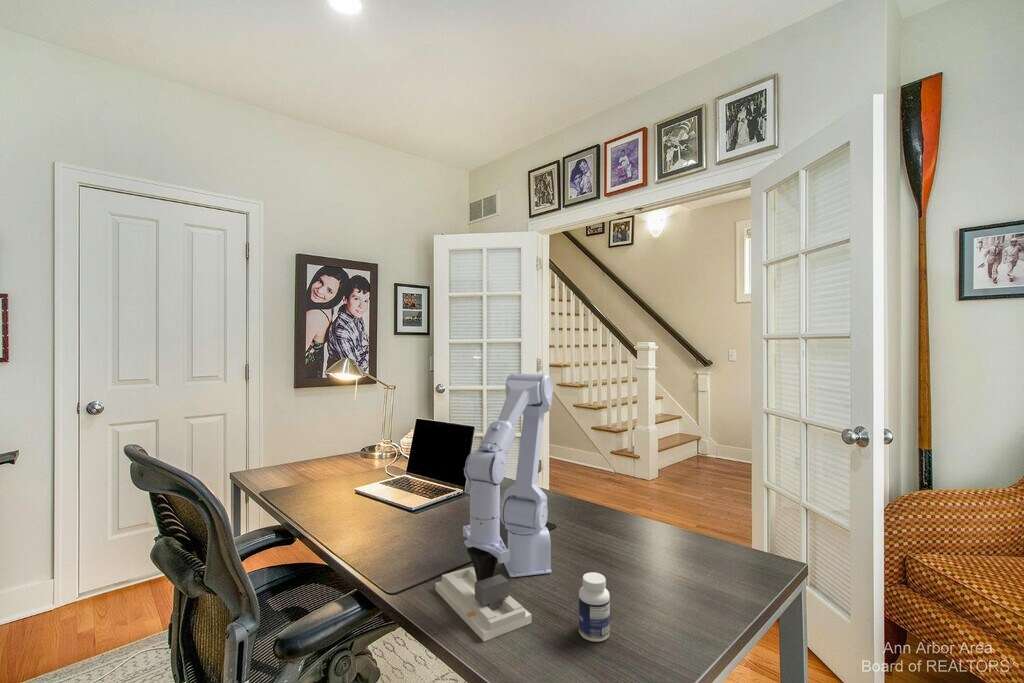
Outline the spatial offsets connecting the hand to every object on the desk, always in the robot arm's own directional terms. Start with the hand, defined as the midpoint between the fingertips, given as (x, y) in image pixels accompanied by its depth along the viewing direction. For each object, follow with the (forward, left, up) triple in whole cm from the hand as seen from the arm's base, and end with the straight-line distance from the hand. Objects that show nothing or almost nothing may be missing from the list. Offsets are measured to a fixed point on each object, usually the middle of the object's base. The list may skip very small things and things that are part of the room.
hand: (484, 585), depth 90 cm
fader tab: (-1, +2, -3) cm, 4 cm away
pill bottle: (-18, +12, -5) cm, 22 cm away
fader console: (0, -1, -4) cm, 5 cm away
